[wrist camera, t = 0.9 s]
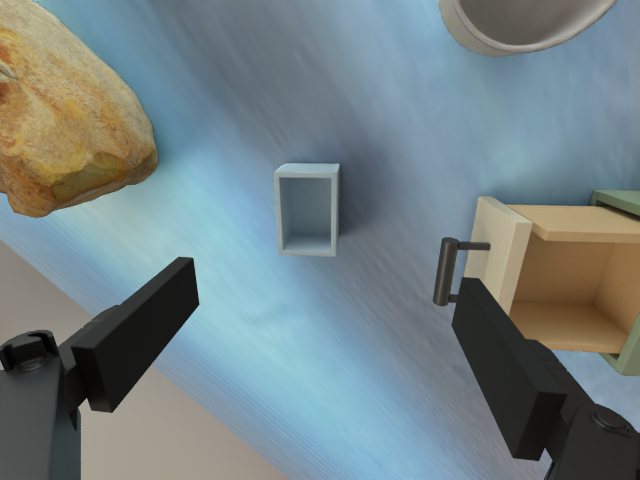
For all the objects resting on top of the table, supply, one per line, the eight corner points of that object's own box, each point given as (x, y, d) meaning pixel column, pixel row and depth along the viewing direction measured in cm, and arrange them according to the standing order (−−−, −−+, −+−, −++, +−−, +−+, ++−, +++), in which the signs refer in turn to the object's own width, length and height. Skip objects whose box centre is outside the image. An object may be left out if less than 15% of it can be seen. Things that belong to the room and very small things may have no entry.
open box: (284, 163, 32) (273, 171, 28) (339, 163, 32) (337, 172, 27) (288, 235, 35) (278, 254, 31) (338, 237, 35) (336, 256, 30)
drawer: (420, 302, 36) (437, 350, 29) (435, 195, 31) (459, 220, 24) (588, 310, 34) (650, 364, 27) (630, 198, 29) (718, 227, 22)
